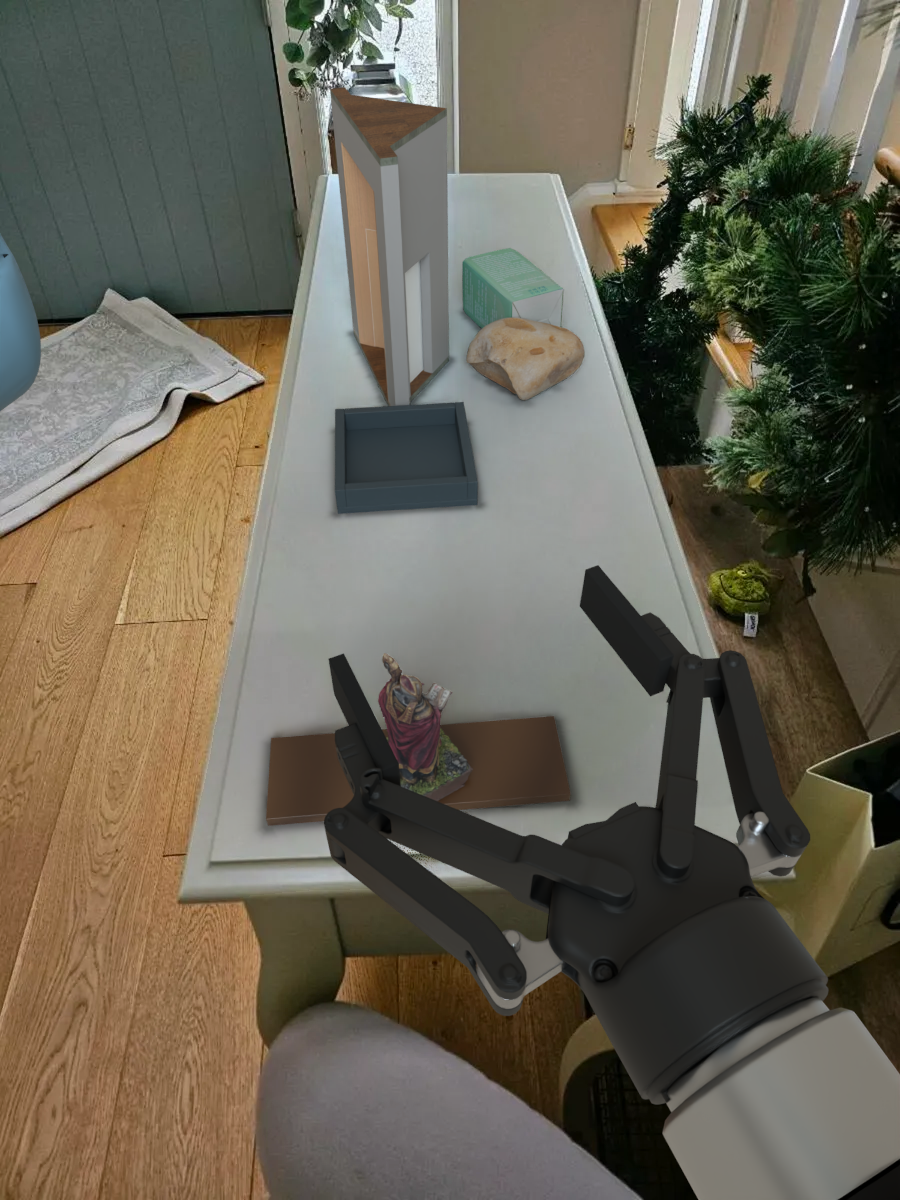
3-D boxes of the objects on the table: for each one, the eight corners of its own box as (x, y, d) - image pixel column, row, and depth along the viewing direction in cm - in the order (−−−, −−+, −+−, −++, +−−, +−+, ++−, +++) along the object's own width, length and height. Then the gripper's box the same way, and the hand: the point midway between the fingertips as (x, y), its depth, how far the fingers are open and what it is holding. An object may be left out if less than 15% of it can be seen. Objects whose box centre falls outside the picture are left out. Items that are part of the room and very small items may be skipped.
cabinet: (353, 334, 110) (329, 88, 89) (425, 322, 112) (418, 79, 91) (396, 424, 96) (380, 158, 76) (478, 409, 98) (483, 145, 78)
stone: (578, 333, 105) (593, 307, 97) (574, 418, 104) (589, 399, 96) (467, 324, 104) (473, 297, 96) (462, 410, 103) (467, 390, 95)
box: (509, 297, 116) (511, 243, 110) (561, 344, 108) (566, 288, 102) (460, 310, 114) (460, 255, 108) (509, 359, 105) (512, 302, 100)
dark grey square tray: (337, 514, 85) (334, 490, 83) (337, 431, 95) (335, 408, 93) (477, 505, 86) (478, 481, 84) (463, 424, 96) (463, 401, 94)
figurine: (404, 821, 61) (395, 724, 52) (359, 755, 65) (344, 654, 56) (478, 778, 63) (482, 678, 54) (431, 717, 67) (427, 614, 58)
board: (267, 826, 62) (265, 819, 61) (273, 744, 66) (271, 737, 66) (569, 801, 63) (570, 793, 62) (553, 723, 68) (554, 715, 67)
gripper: (409, 1268, 28) (234, 762, 41) (967, 942, 35) (667, 602, 48) (399, 1234, 22) (201, 663, 36) (1063, 857, 30) (694, 499, 43)
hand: (469, 627), depth 42 cm, fingers open, 13 cm apart
